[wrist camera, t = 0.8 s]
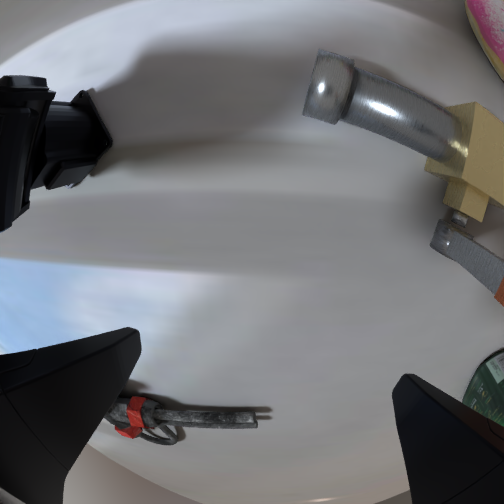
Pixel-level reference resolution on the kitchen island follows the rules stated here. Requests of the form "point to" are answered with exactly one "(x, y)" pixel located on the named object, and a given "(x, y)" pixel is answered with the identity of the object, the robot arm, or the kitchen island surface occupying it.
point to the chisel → (470, 257)
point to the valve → (169, 419)
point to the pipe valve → (417, 130)
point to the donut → (489, 29)
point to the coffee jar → (488, 389)
